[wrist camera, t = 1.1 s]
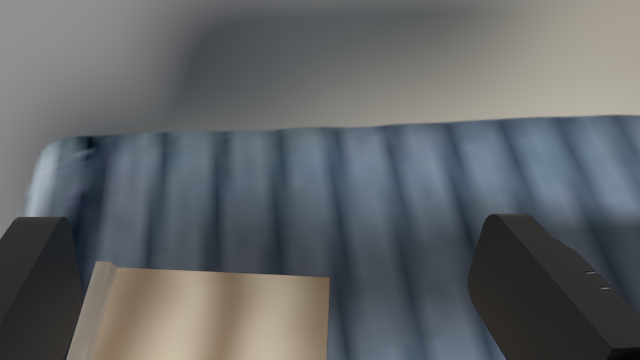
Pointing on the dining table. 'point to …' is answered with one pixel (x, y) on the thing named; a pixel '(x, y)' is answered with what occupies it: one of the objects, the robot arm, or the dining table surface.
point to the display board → (201, 316)
